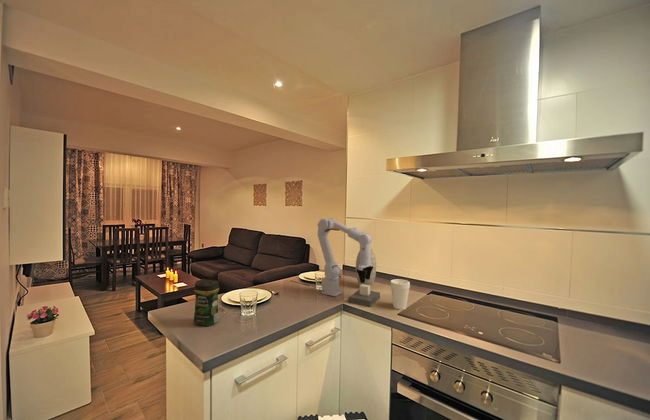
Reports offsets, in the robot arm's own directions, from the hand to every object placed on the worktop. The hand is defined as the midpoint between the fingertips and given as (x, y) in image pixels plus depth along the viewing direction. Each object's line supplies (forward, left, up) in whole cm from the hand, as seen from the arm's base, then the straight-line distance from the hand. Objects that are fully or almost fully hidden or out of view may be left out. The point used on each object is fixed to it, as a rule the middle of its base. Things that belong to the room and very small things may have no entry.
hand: (365, 280), depth 146 cm
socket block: (0, 0, -11) cm, 11 cm away
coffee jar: (-48, -63, -11) cm, 80 cm away
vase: (-8, +22, -11) cm, 26 cm away
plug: (0, 0, -11) cm, 11 cm away
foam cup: (+19, 0, -11) cm, 22 cm away
